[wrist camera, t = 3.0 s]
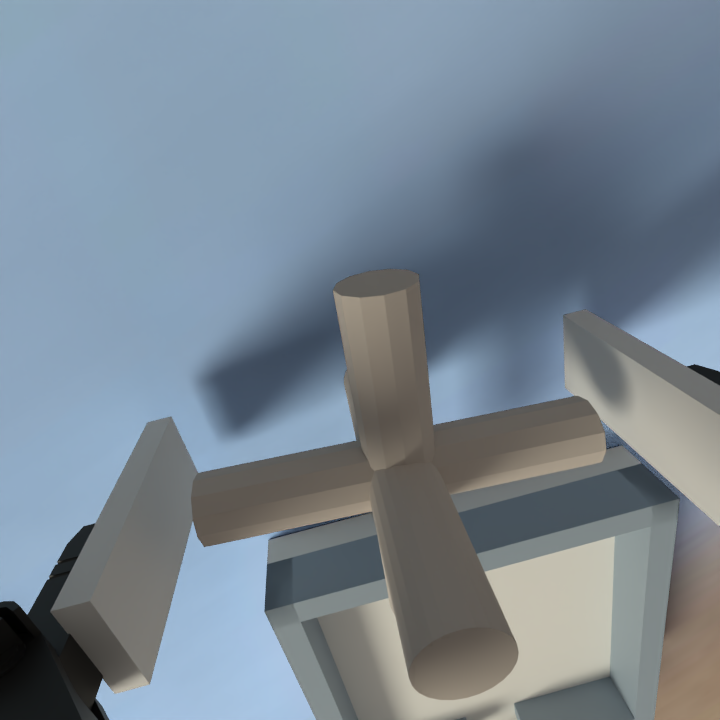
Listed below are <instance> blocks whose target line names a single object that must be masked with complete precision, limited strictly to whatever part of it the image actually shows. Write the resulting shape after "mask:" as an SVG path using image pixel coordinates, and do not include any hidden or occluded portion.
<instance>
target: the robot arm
mask: <svg viewBox="0 0 720 720" xmlns="http://www.w3.org/2000/svg"><path fill="white" fill-rule="evenodd" d="M563 333H564V369H565V388H566V389H567V390H568V391H569V392H571V393H572V394H573V395H574V396H580V397H582V398H584V399H586V400H588V401H589V403H590V404H591V405H592V407H593V408H594V409H595V411H596V412H597V413H598V415H599V418H600V419H601V420H602V421H603V422H604V423H605V424H606V425H607V426H608V427H609V428H611V429H612V430H613V431H614V432H615V433H616V434H617V435H618V436H619V437H621V438H622V439H623V440H624V441H625V442H626V443H627V444H628V445H629V446H631V447H632V448H633V449H634V450H635V451H636V452H637V453H638V454H639V455H641V456H642V457H643V458H644V459H645V460H646V461H647V462H648V463H649V464H651V465H652V466H653V467H654V468H655V469H656V470H657V471H658V472H659V473H661V474H662V475H663V476H664V477H665V478H666V479H667V480H668V481H669V482H671V483H672V484H673V485H674V486H675V487H676V488H677V489H678V490H679V491H681V492H682V493H683V494H684V495H685V496H686V497H687V498H688V499H689V500H691V501H692V502H693V503H694V504H695V505H696V506H697V507H698V508H699V509H701V510H702V511H703V512H704V513H705V514H706V515H707V516H708V517H709V518H711V519H712V520H713V521H714V522H715V523H716V524H717V525H718V526H719V527H720V372H719V371H716V370H713V369H709V368H706V367H702V366H699V365H695V364H694V365H691V366H687V367H686V366H684V365H683V364H681V363H679V362H677V361H676V360H674V359H672V358H670V357H669V356H667V355H665V354H663V353H662V352H660V351H658V350H656V349H655V348H653V347H651V346H649V345H648V344H646V343H644V342H642V341H641V340H639V339H637V338H635V337H634V336H632V335H630V334H628V333H626V332H625V331H623V330H621V329H619V328H618V327H616V326H614V325H612V324H611V323H609V322H607V321H605V320H604V319H602V318H600V317H598V316H597V315H595V314H593V313H591V312H590V311H588V310H586V309H585V310H581V311H577V312H573V313H569V314H565V315H563ZM197 474H198V472H197V470H196V467H195V465H194V463H193V461H192V459H191V457H190V455H189V453H188V451H187V449H186V446H185V444H184V442H183V440H182V438H181V436H180V434H179V432H178V430H177V427H176V425H175V423H174V421H173V419H172V417H167V418H163V419H159V420H155V421H151V422H148V423H147V424H146V426H145V428H144V430H143V432H142V434H141V436H140V438H139V440H138V442H137V444H136V446H135V448H134V450H133V452H132V454H131V456H130V457H129V459H128V461H127V463H126V465H125V467H124V469H123V471H122V473H121V475H120V477H119V479H118V481H117V483H116V485H115V487H114V489H113V490H112V492H111V494H110V496H109V498H108V500H107V502H106V504H105V506H104V508H103V510H102V512H101V514H100V516H99V518H98V520H97V522H96V523H95V524H91V525H87V526H84V527H83V528H82V529H81V530H80V531H79V532H78V533H77V534H76V535H75V536H74V537H73V538H72V539H71V541H70V542H69V543H68V544H67V545H66V547H65V549H64V551H63V553H62V554H61V556H60V558H59V560H58V565H55V567H54V569H53V570H52V572H51V574H50V576H49V577H50V579H49V580H47V581H46V583H45V585H44V587H43V588H42V590H41V592H40V594H39V596H38V597H37V599H36V601H35V603H34V604H33V606H32V608H31V610H30V612H29V613H28V615H27V614H26V613H25V612H24V611H23V610H22V608H21V607H20V606H19V605H18V604H16V603H15V602H14V601H3V602H0V720H109V718H108V717H107V715H106V713H105V711H104V709H103V707H102V705H101V704H100V703H99V702H98V701H97V699H96V695H97V692H98V689H99V686H100V684H101V681H102V678H103V679H104V681H105V682H106V683H107V685H108V686H109V687H110V688H111V690H112V691H113V692H114V693H115V694H116V693H120V692H124V691H127V690H131V689H135V688H138V687H142V686H146V685H149V684H150V682H151V678H152V674H153V670H154V666H155V663H156V659H157V655H158V651H159V647H160V644H161V640H162V636H163V632H164V628H165V624H166V621H167V617H168V613H169V609H170V605H171V602H172V598H173V594H174V590H175V586H176V583H177V579H178V575H179V571H180V567H181V563H182V560H183V556H184V552H185V548H186V544H187V541H188V537H189V533H190V529H191V525H192V522H193V518H192V505H191V493H192V485H193V480H194V479H195V477H196V475H197Z"/></svg>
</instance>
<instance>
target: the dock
mask: <svg viewBox="0 0 720 720" xmlns="http://www.w3.org/2000/svg"><path fill="white" fill-rule="evenodd" d="M450 496H451V498H452V500H453V503H454V505H455V507H456V509H457V512H458V514H459V516H460V518H461V521H462V523H463V525H464V527H465V529H466V532H467V534H468V536H469V538H470V541H471V543H472V545H473V547H474V549H475V552H476V554H477V556H478V558H479V561H480V563H481V565H482V567H483V570H484V572H485V574H486V576H487V578H488V581H489V583H490V585H491V587H492V590H493V592H494V594H495V596H496V598H497V601H498V603H499V605H500V607H501V610H502V612H503V614H504V616H505V619H506V621H507V623H508V625H509V627H510V630H511V632H512V634H513V636H514V639H515V641H516V643H517V646H518V651H519V654H518V659H517V663H516V665H515V666H514V668H513V670H512V671H511V673H510V674H509V675H508V676H507V677H506V678H505V679H504V680H503V681H501V682H500V683H498V684H497V685H496V686H494V687H493V688H491V689H489V690H487V691H485V692H483V693H481V694H478V695H475V696H471V697H468V698H463V699H457V700H438V699H433V698H428V697H426V696H424V695H422V694H420V693H418V692H417V691H416V690H415V689H414V688H413V687H412V685H411V682H410V680H409V676H408V672H407V667H406V663H405V658H404V654H403V649H402V645H401V640H400V635H399V631H398V626H397V622H396V617H395V615H394V613H393V611H392V609H391V608H390V602H389V597H388V591H387V586H386V580H385V575H384V569H383V564H382V558H381V553H380V547H379V542H378V536H377V531H376V526H375V522H374V517H373V513H372V512H371V513H368V514H364V515H360V516H356V517H353V518H349V519H345V520H341V521H338V522H334V523H330V524H327V525H323V526H319V527H315V528H312V529H308V530H304V531H300V532H297V533H293V534H289V535H285V536H282V537H278V538H274V539H271V540H268V557H267V576H266V594H265V613H266V616H267V618H268V620H269V622H270V624H271V626H272V628H273V630H274V632H275V634H276V636H277V639H278V641H279V643H280V645H281V647H282V649H283V651H284V653H285V655H286V657H287V659H288V662H289V664H290V666H291V668H292V670H293V672H294V674H295V676H296V678H297V680H298V682H299V685H300V687H301V689H302V691H303V693H304V695H305V697H306V699H307V701H308V703H309V705H310V708H311V710H312V712H313V714H314V716H315V718H316V720H654V715H655V707H656V698H657V690H658V681H659V673H660V664H661V656H662V647H663V638H664V630H665V621H666V613H667V604H668V596H669V587H670V579H671V570H672V562H673V553H674V545H675V536H676V528H677V519H678V511H679V502H680V498H679V497H678V496H677V495H675V494H674V493H673V492H672V491H671V490H670V489H669V488H668V487H667V486H666V485H665V484H664V483H662V482H661V481H660V480H659V479H658V478H657V477H656V476H655V475H654V474H653V473H652V472H651V471H649V470H648V469H647V468H646V467H645V466H644V465H643V464H642V463H641V462H640V461H639V460H638V459H636V458H635V457H634V456H633V455H632V454H631V453H630V452H629V451H628V450H627V449H626V448H625V447H623V446H618V447H614V448H610V449H607V450H606V453H605V455H604V458H603V461H602V462H600V463H596V464H592V465H587V466H583V467H578V468H573V469H569V470H564V471H559V472H555V473H550V474H545V475H541V476H536V477H531V478H526V479H522V480H517V481H512V482H508V483H503V484H498V485H494V486H489V487H484V488H480V489H475V490H470V491H465V492H461V493H456V494H451V495H450Z"/></svg>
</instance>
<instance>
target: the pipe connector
mask: <svg viewBox="0 0 720 720" xmlns="http://www.w3.org/2000/svg"><path fill="white" fill-rule="evenodd" d="M333 293H334V299H335V304H336V310H337V315H338V321H339V327H340V332H341V338H342V343H343V349H344V354H345V360H346V365H347V370H346V372H345V376H344V386H345V390H346V395H347V399H348V404H349V408H350V413H351V417H352V422H353V427H354V431H355V436H356V440H357V441H353V442H348V443H343V444H338V445H333V446H328V447H323V448H318V449H313V450H308V451H304V452H299V453H294V454H289V455H284V456H279V457H274V458H269V459H264V460H259V461H255V462H250V463H245V464H240V465H235V466H230V467H225V468H220V469H215V470H210V471H206V472H201V473H198V474H197V475H196V477H195V479H194V480H193V485H192V493H191V505H192V518H193V522H194V526H195V529H196V533H197V537H198V538H199V540H200V541H201V543H202V544H203V546H204V547H206V546H212V545H217V544H221V543H226V542H231V541H235V540H240V539H245V538H250V537H254V536H259V535H264V534H268V533H273V532H278V531H282V530H287V529H292V528H296V527H301V526H306V525H311V524H315V523H320V522H325V521H329V520H334V519H339V518H343V517H348V516H353V515H357V514H362V513H367V512H372V513H373V517H374V522H375V526H376V531H377V536H378V542H379V547H380V553H381V558H382V564H383V569H384V575H385V580H386V586H387V591H388V597H389V602H390V608H391V609H392V611H393V613H394V615H395V617H396V622H397V626H398V631H399V635H400V640H401V645H402V649H403V654H404V658H405V663H406V667H407V672H408V676H409V680H410V682H411V685H412V687H413V688H414V689H415V690H416V691H417V692H418V693H420V694H422V695H424V696H426V697H428V698H433V699H438V700H457V699H463V698H468V697H471V696H475V695H478V694H481V693H483V692H485V691H487V690H489V689H491V688H493V687H494V686H496V685H497V684H498V683H500V682H501V681H503V680H504V679H505V678H506V677H507V676H508V675H509V674H510V673H511V671H512V670H513V668H514V666H515V665H516V663H517V659H518V654H519V651H518V646H517V643H516V641H515V639H514V636H513V634H512V632H511V630H510V627H509V625H508V623H507V621H506V619H505V616H504V614H503V612H502V610H501V607H500V605H499V603H498V601H497V598H496V596H495V594H494V592H493V590H492V587H491V585H490V583H489V581H488V578H487V576H486V574H485V572H484V570H483V567H482V565H481V563H480V561H479V558H478V556H477V554H476V552H475V549H474V547H473V545H472V543H471V541H470V538H469V536H468V534H467V532H466V529H465V527H464V525H463V523H462V521H461V518H460V516H459V514H458V512H457V509H456V507H455V505H454V503H453V500H452V498H451V496H450V495H451V494H456V493H461V492H465V491H470V490H475V489H480V488H484V487H489V486H494V485H498V484H503V483H508V482H512V481H517V480H522V479H526V478H531V477H536V476H541V475H545V474H550V473H555V472H559V471H564V470H569V469H573V468H578V467H583V466H587V465H592V464H596V463H600V462H602V461H603V458H604V455H605V453H606V439H605V431H604V429H603V426H602V423H601V421H600V418H599V415H598V413H597V412H596V411H595V409H594V408H593V407H592V405H591V404H590V403H589V401H588V400H586V399H584V398H582V397H580V396H573V397H568V398H563V399H558V400H553V401H549V402H544V403H539V404H534V405H529V406H524V407H519V408H514V409H509V410H504V411H500V412H495V413H490V414H485V415H480V416H475V417H470V418H465V419H460V420H455V421H451V422H446V423H441V424H436V425H433V418H432V408H431V397H430V387H429V376H428V366H427V355H426V345H425V334H424V324H423V313H422V303H421V292H420V282H419V274H417V273H414V272H412V271H410V270H402V269H384V270H375V271H368V272H364V273H360V274H357V275H353V276H350V277H348V278H346V279H344V280H342V281H340V282H338V283H337V284H336V285H335V287H334V289H333Z"/></svg>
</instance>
